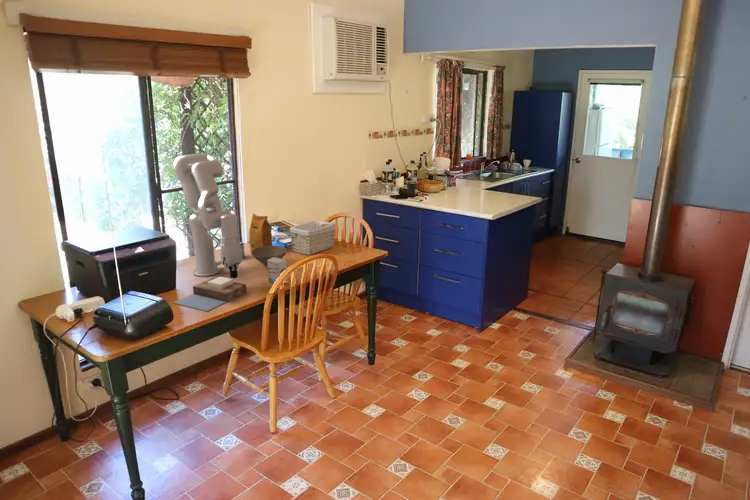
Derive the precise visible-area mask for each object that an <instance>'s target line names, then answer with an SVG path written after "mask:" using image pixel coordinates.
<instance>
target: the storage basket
mask: <svg viewBox="0 0 750 500" xmlns="http://www.w3.org/2000/svg"><path fill="white" fill-rule="evenodd" d="M289 234H290V235H289V236H290V241H291V250H292V251H293V252H294V253H295V252H296V253H298V254H303V255H307V256H311V255H314V254H316V253H319V252H322V251H326V250H327V249H331V248H333V247H334V245H335V235H336V222H335V223H334V222H329V221H324V220H318V219H317V220H311V221H309V222H305V223H301V224H300V223H299V224H297V225H294V226H291V227H290V228H289Z"/></svg>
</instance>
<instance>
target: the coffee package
mask: <svg viewBox="0 0 750 500" xmlns="http://www.w3.org/2000/svg"><path fill="white" fill-rule="evenodd" d="M268 219H269V218H268V216H267V215H256V214H255V213H253V214H252V217H251V221H250V225H249V245H250V247H249V248H250V253H251V252H252V250H254V249H256V248H259V247H263V246H273V235H272V234H273V233H272V226H271V224H270V222H269V221H268Z"/></svg>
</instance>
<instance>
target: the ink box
mask: <svg viewBox="0 0 750 500" xmlns="http://www.w3.org/2000/svg"><path fill="white" fill-rule="evenodd" d="M267 264H268V265H267V276H268V283H270V284H273V283H274V282H275V281H276V279H277V278H278V277H279V276H280V274H281V273H282V272H283V271H284V270H286V269H288V268H287V259H284V258H282V259H280V258H276V257H273V258H271V259H268V260H267ZM286 282H287V283H288V278H287V279H286Z"/></svg>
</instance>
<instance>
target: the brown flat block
mask: <svg viewBox="0 0 750 500" xmlns="http://www.w3.org/2000/svg"><path fill="white" fill-rule="evenodd" d="M216 278H217V277H212V278H209V279H207V280H204V281H202V282H200V283H198V284H197V283H196V284H195V285H193V286H192V292H193V293H192V294H196V295H200V296H204V297H209V298H213V299H217V300H221V301H226V303H228V302H230V301H232V300H234V299H237V298H238V297H240V296H243V295H244V294H247V284H245V283H242V282H235V281H233V282H234V283H233V284H231V285H229V286H227V287H224V288H222V289H219V288H215V287H210V286H208V282H209V281H211V280H213V279H216Z"/></svg>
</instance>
